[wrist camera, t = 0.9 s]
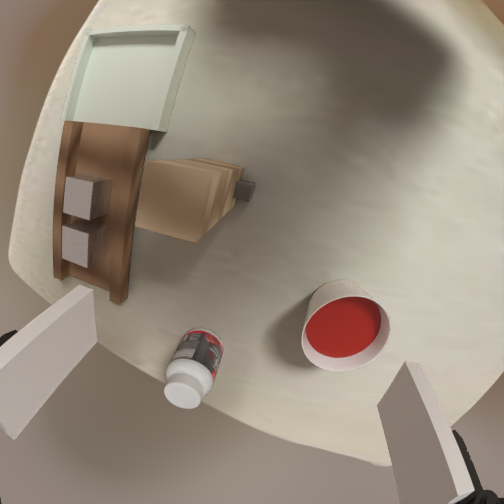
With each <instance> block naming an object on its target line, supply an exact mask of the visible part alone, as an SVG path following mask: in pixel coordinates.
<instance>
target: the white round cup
mask: <svg viewBox="0 0 504 504" xmlns="http://www.w3.org/2000/svg"><path fill="white" fill-rule="evenodd" d="M390 332H391V322H390V318H389V315H388V313H387V311H386V310H385V308H384V307H383V306H382V305H381V304H380V303H379V302H378V301H376V300H375V299H374V298H373V297H372V296H371V295H369V294H368V293H367V292H366V291H365V290H363V289H362V288H361V287H360V286H358V285H357V284H355V283H353V282H350V281H346V280H335V281H331V282H328V283H326V284H324V285H323V286H321V287H320V288H319V289H317V291H316V292H315V293H314V294H313V296H312V297H311V299H310V302H309V305H308V309H307V313H306V317H305V322H304V326H303V330H302V336H301V344H302V348H303V351H304V353H305V355H306V357H307V358H308V359H309V360H310V361H311V362H312V363H313V364H314V365H316V366H317V367H319V368H322V369H324V370H328V371H334V372H344V371H350V370H354V369H357V368H360V367H362V366H364V365H366V364H368V363H369V362H371V361H372V360H374V359H375V358H376V357H377V356H378V355H379V354H380V353H381V352H382V350H383V349H384V347H385V346H386V344H387V342H388V339H389V336H390Z"/></svg>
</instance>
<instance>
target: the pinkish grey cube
mask: <svg viewBox="0 0 504 504" xmlns="http://www.w3.org/2000/svg"><path fill="white" fill-rule="evenodd" d="M107 230H108V225H106V224H102V223H99V222H95V221H92V220H87V219H83V218H81V219H78V220H75V221H73V222H70V223H67V224H65V225H62V258H63V259H65V260H68V261H70V262H73V263H75V264H78V265H81V266H83V267H86V268H88V267H90V266H91V265H93V264H95V263H96V262H98V261H99V260H101V259H102V258H104V257H106V242H107Z"/></svg>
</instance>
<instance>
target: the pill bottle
mask: <svg viewBox="0 0 504 504" xmlns="http://www.w3.org/2000/svg"><path fill="white" fill-rule="evenodd" d="M222 354H223V343H222V341H221V339H220V338H219V337H218V336H217V335H216V334H215V333H213V332H212V331H210V330H207V329H202V328H195V329H192V330H190V331H188V332H187V333H186V334H185V336H184V337H183V339H182V341H181V343H180V344H179V346H178V348H177V350H176V352H175V354H174V355H173V357H172V359H171V361H170V363H169V365H168V367H167V369H166V378H167V383H166V386H165V388H164V393H165V396H166V398H167V399H168V400H169V401H170V402H171V403H172V404H174V405H176V406H178V407H180V408H184V409H192V408H195V407H197V406H198V405H199V404H200V402H201V400H202V398H203V396H204V395H206V394H207V393H208V392H209V391H210V390H211V388H212V386H213V383H214V380H215V377H216V373H217V370H218V367H219V364H220V361H221V357H222Z"/></svg>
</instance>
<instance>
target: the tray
mask: <svg viewBox="0 0 504 504" xmlns="http://www.w3.org/2000/svg"><path fill="white" fill-rule="evenodd" d="M194 36H195V31H194V30H193V29H192V28H191V26H190V25H180V24H150V25H129V26H116V27H106V28H98V29H91V30H86V33H85V36H84V38H83V41H82V44H81V47H80V49H79V52H78V55H77V58H76V62H75V65H74V68H73V71H72V75H71V78H70V82H69V85H68V89H67V93H66V97H65V101H64V106H63V110H62V115H61V120H62V121H78V122H89V123H100V124H110V125H119V126H128V127H137V128H144V129H150V130H156V131H162V132H167V129H168V125H169V120H170V116H171V112H172V109H173V105H174V101H175V97H176V94H177V90H178V87H179V83H180V80H181V76H182V73H183V70H184V66H185V63H186V60H187V57H188V54H189V51H190V48H191V45H192V42H193V39H194Z"/></svg>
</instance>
